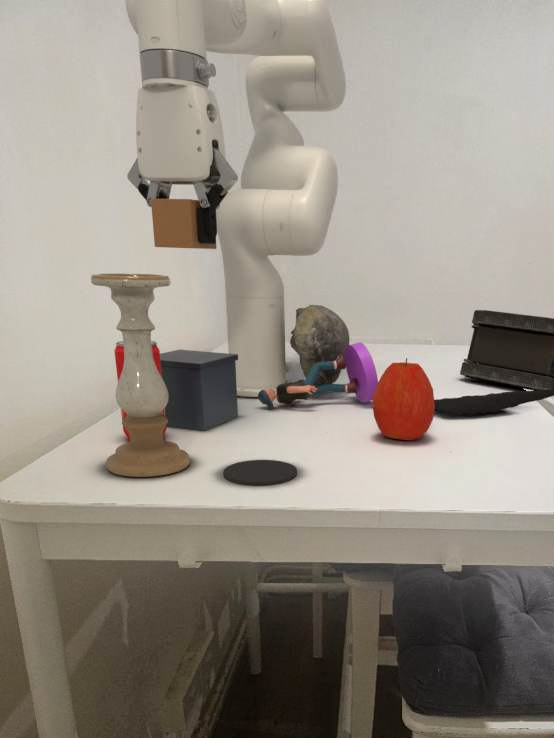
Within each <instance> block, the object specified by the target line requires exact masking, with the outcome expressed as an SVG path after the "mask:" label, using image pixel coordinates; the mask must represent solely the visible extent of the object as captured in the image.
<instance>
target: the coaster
mask: <svg viewBox="0 0 554 738" xmlns="http://www.w3.org/2000/svg"><path fill="white" fill-rule="evenodd" d="M222 471H223V477H224V478H225V479H226V480H227V481H228V482H231V483H235V484H239V485H243V486H244V485H245V486H271V485H278V484H282V483H283V484H284V483H286V482H289V481H291V480H293V479H295V478H296V477H297V475H298V469H297V467H296V466H295V465H294V464H291V463H289V462H285V461H281V460H276V459H275V460H274V459H251V460H243V461H238V462H235V463H233V464H229V465H228V466H225V468H224V469H223V470H222Z"/></svg>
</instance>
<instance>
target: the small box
mask: <svg viewBox="0 0 554 738" xmlns="http://www.w3.org/2000/svg"><path fill="white" fill-rule="evenodd" d="M150 208H151V218H152V230H153V231H152V232H153V242H154V243H153V244H154V247H155V248H168V249H169V248H171V249H173V248H174V249H175V248H176V249H200V250H201V249H203V250H217V242H216V243H215V244H208V243H200V242H199V241H198V233H197V217H196V210H197V208H200V203H199V200H198V199H191V198H169V199H151V207H150Z"/></svg>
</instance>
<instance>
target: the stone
mask: <svg viewBox="0 0 554 738" xmlns="http://www.w3.org/2000/svg"><path fill="white" fill-rule="evenodd" d="M290 334H291V336H290V340H289V344H290V347H291V348H292V350H294V352H295V353H297V355H298V356H299V365H300V369H301V371H302V373H303V376H304V377H305V378H306V377H307V375H308V374H309V372H310V371H311V369H312V367H313V366H314V364H316V363H318V362H328V361H333V360H336V359H338V355H339V353H341V352H343V354H344V357H345V350H346V347H347V346H348V345H350V332H349V328H348V327H347V325H346V323H345V322H344V320H343V319H342V317H340V316H339V315H338V314H337V313H336V312H334V311H333V310H331V309H330V308H328V307H326V306H323V305H321V304H320V305H319V304H309V305H308V306H306V307H298V308H297V309H296V310H295V326H294V328H293V329H292V330H291V331H290ZM342 370H343V369H340V370H336V369H335V368H334V369H330V370H320V371H319V374H318V377H317V379H316V381H315V383H314V386H319V385H324V384H335V383H336V381H337V380H338V379H339V377H340V375H341V372H342Z"/></svg>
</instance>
